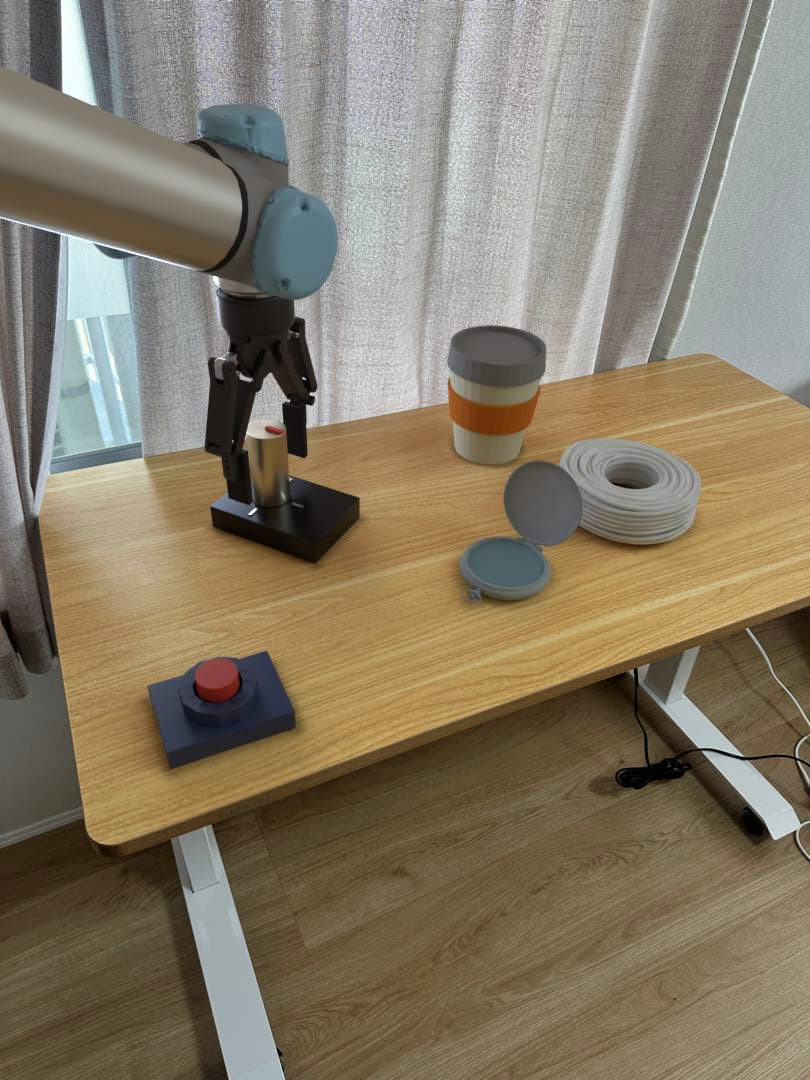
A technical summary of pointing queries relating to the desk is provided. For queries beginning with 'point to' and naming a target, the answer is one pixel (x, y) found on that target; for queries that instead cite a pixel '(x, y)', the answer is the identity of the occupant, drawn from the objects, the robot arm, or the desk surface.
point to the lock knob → (268, 462)
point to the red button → (217, 680)
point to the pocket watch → (524, 534)
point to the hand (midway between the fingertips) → (269, 476)
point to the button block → (220, 711)
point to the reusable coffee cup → (493, 390)
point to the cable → (632, 490)
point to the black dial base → (292, 520)
